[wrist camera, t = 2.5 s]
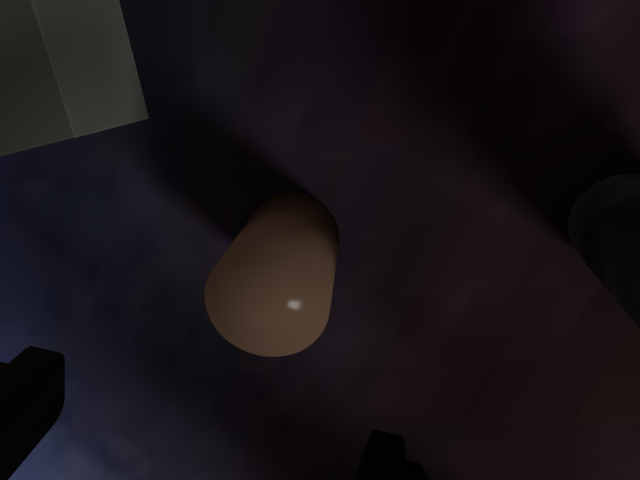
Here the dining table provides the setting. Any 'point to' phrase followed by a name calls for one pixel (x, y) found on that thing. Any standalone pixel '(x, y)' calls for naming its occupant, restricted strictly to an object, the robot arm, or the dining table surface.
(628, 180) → the beverage cup
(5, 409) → the robot arm
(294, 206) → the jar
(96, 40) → the base block
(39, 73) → the mid block
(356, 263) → the dining table surface
